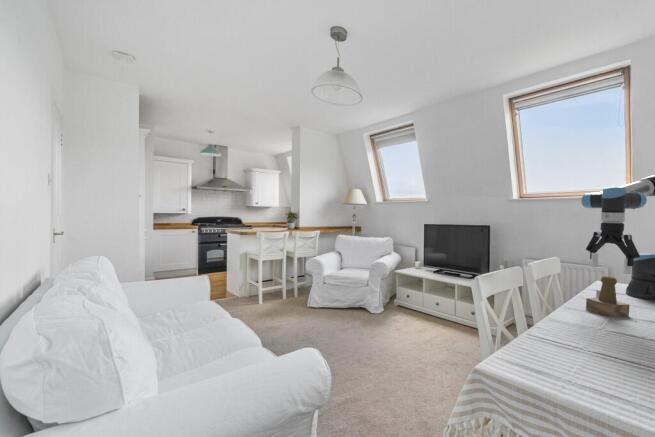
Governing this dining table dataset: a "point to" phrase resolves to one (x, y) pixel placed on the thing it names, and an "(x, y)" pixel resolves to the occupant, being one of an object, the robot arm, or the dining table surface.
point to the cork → (608, 290)
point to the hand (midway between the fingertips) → (609, 270)
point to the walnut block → (607, 307)
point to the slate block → (598, 293)
